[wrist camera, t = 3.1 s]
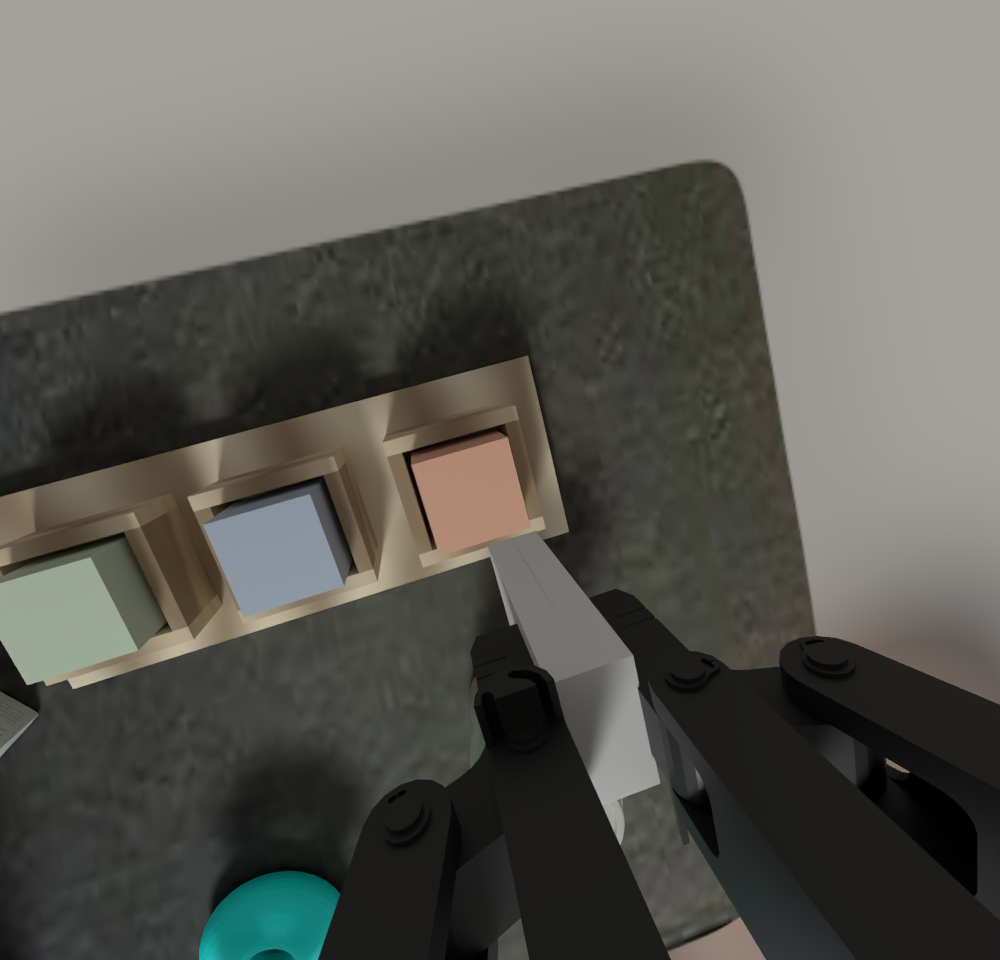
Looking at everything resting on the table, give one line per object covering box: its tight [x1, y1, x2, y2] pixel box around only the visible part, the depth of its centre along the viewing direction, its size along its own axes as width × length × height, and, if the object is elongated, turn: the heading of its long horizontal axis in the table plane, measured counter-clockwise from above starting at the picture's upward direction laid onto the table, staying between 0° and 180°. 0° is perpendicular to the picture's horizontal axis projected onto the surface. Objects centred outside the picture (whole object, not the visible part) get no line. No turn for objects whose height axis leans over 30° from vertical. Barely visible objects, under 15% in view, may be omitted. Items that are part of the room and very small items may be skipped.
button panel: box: [0, 356, 569, 689], centre depth 28 cm, size 32×12×5 cm, turn 104°
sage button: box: [0, 534, 167, 685], centre depth 24 cm, size 5×5×4 cm
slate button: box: [203, 478, 353, 617], centre depth 25 cm, size 5×5×4 cm
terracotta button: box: [411, 429, 531, 556], centre depth 26 cm, size 5×5×4 cm
